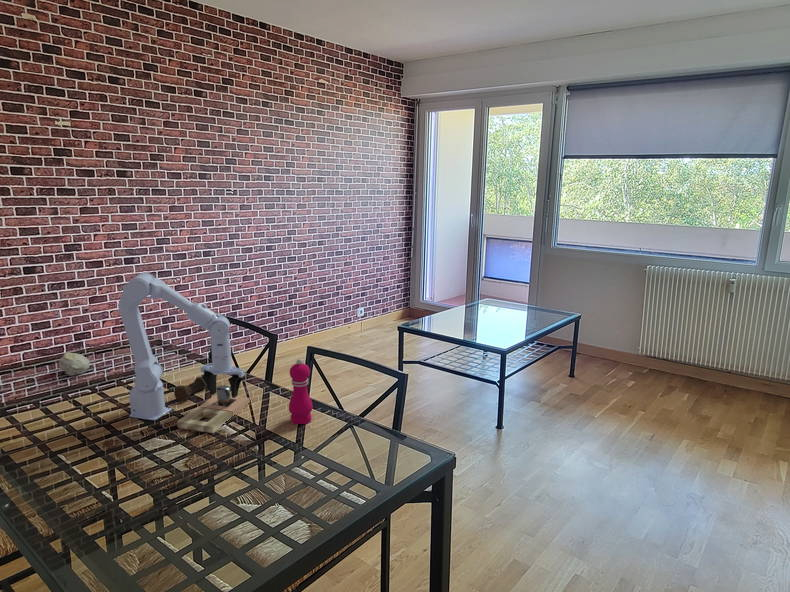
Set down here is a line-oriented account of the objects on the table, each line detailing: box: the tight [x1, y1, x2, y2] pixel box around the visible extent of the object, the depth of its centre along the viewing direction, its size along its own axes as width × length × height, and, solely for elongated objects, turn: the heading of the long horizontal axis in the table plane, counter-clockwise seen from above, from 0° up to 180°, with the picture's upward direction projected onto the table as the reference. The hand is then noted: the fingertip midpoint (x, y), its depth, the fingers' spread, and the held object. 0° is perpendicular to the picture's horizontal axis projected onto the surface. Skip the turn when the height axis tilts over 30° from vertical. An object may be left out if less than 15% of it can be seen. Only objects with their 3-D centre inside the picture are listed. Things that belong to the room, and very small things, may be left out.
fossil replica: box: [58, 352, 91, 377], centre depth 191 cm, size 12×8×10 cm
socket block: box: [198, 393, 251, 417], centre depth 166 cm, size 12×10×2 cm
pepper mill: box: [288, 358, 314, 425], centre depth 156 cm, size 7×7×20 cm
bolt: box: [173, 376, 208, 403], centre depth 177 cm, size 6×5×15 cm
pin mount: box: [176, 406, 233, 434], centre depth 156 cm, size 12×10×2 cm
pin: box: [216, 384, 232, 407], centre depth 165 cm, size 4×4×7 cm
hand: (224, 395), depth 165 cm, fingers open, 7 cm apart
